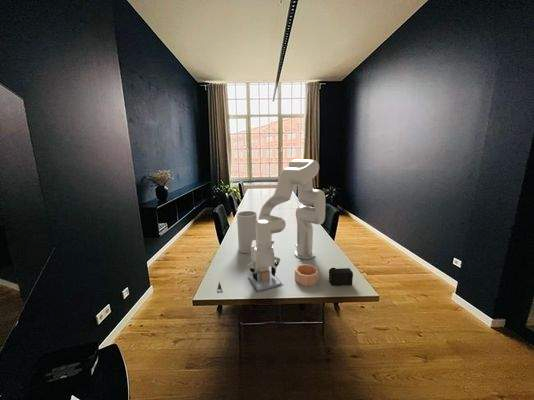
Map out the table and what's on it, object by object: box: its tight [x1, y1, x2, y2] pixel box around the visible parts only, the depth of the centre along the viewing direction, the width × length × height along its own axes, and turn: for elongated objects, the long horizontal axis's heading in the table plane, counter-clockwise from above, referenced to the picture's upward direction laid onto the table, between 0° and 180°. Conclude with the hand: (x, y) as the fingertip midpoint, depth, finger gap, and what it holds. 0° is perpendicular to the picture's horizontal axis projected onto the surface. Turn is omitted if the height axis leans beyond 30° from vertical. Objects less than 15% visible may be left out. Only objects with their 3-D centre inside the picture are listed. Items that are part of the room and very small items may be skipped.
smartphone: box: [216, 281, 224, 293], centre depth 111 cm, size 7×1×15 cm
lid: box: [249, 268, 282, 291], centre depth 109 cm, size 12×12×6 cm
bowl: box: [294, 263, 319, 287], centre depth 111 cm, size 11×11×6 cm
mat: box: [246, 275, 285, 294], centre depth 110 cm, size 14×14×1 cm
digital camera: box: [328, 267, 354, 287], centre depth 108 cm, size 10×5×7 cm, turn 93°
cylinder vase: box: [236, 210, 258, 254], centre depth 144 cm, size 12×12×25 cm
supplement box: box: [250, 240, 269, 272], centre depth 122 cm, size 9×9×15 cm
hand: (264, 277), depth 109 cm, fingers open, 9 cm apart
